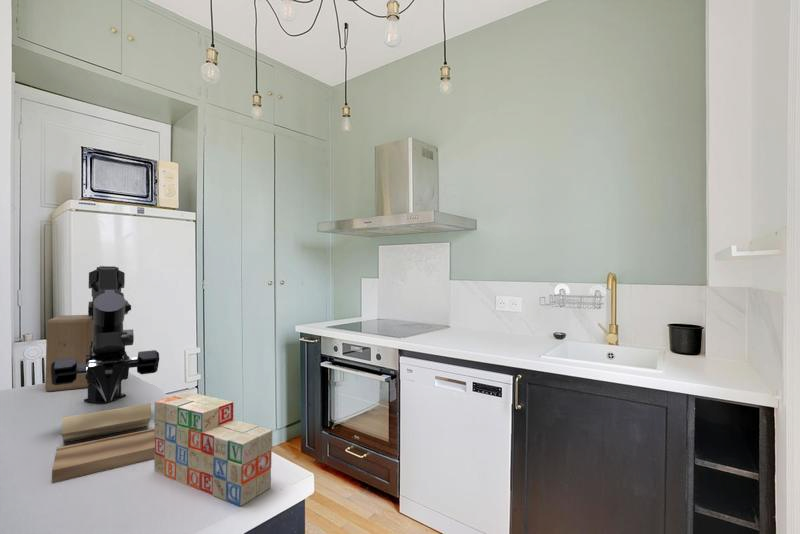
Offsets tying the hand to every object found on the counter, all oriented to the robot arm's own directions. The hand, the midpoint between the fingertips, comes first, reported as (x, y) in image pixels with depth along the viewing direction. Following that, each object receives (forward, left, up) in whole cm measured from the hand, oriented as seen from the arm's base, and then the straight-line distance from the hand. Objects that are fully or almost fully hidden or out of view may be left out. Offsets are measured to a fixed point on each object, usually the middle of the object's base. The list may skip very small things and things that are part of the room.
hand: (108, 401), depth 82 cm
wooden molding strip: (+8, +10, -7) cm, 15 cm away
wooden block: (-24, -40, -7) cm, 48 cm away
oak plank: (-1, -1, -6) cm, 6 cm away
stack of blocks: (+10, +32, -7) cm, 34 cm away
